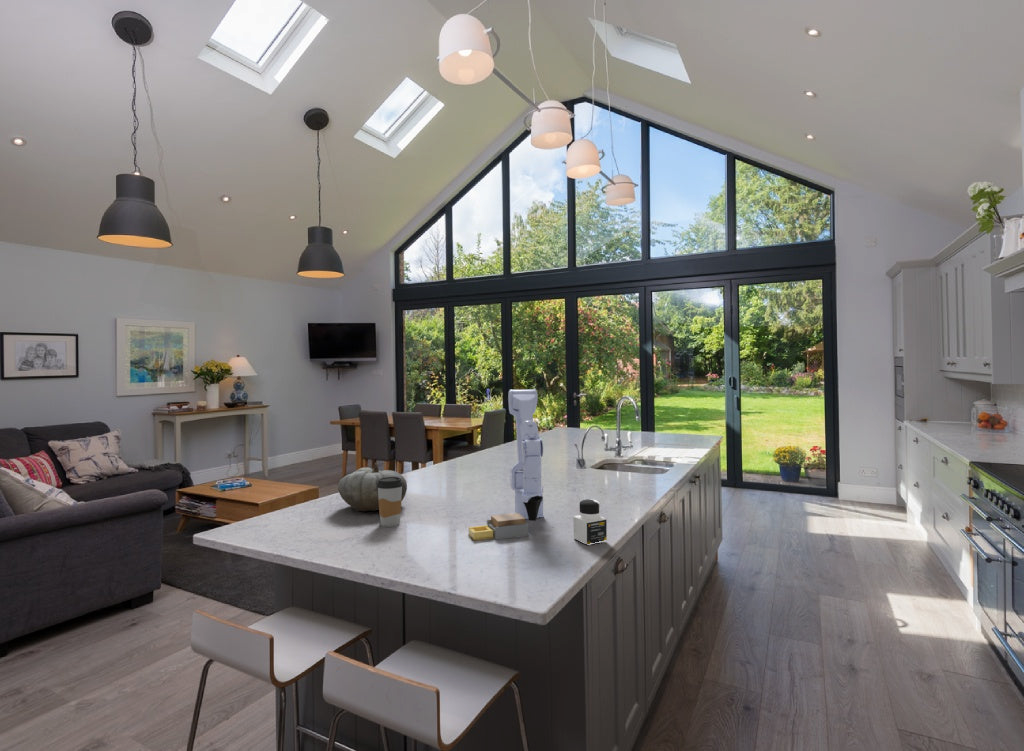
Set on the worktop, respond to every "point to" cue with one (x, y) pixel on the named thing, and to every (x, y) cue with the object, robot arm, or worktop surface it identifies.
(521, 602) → the worktop surface
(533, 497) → the robot arm
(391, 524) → the coffee cup
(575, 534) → the medicine bottle
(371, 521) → the worktop surface
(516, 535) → the grey piece
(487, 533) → the yellow square tray
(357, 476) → the gourd
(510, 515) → the cover
